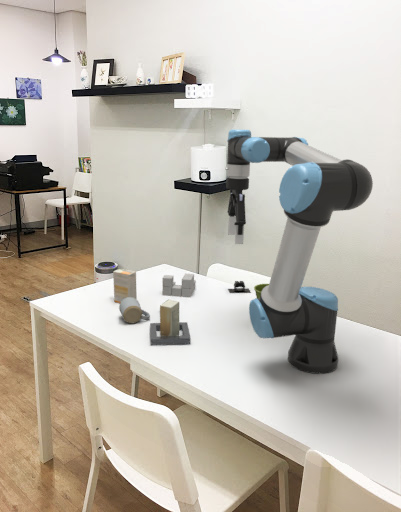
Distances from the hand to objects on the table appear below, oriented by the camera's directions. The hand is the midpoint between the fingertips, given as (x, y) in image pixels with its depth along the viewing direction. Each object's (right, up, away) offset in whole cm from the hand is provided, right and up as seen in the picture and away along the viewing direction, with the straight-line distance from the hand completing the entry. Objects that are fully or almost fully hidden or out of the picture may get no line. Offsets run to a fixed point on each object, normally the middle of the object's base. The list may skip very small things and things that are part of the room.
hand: (235, 239), depth 169 cm
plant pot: (+14, -29, +16) cm, 36 cm away
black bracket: (+5, -22, +44) cm, 49 cm away
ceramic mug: (-36, -29, +11) cm, 48 cm away
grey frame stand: (-24, -31, +6) cm, 39 cm away
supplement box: (-42, -25, +27) cm, 56 cm away
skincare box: (-22, -33, -3) cm, 40 cm away
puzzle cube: (-21, -21, +41) cm, 51 cm away
